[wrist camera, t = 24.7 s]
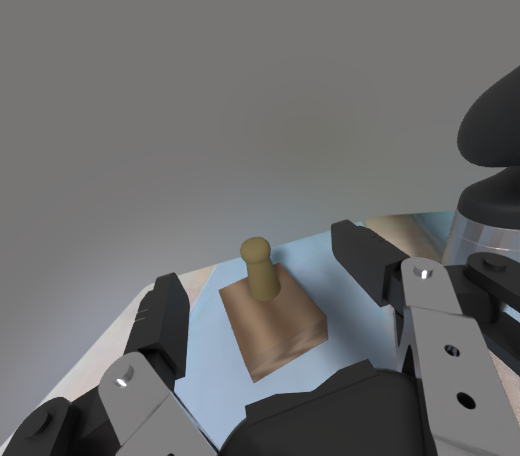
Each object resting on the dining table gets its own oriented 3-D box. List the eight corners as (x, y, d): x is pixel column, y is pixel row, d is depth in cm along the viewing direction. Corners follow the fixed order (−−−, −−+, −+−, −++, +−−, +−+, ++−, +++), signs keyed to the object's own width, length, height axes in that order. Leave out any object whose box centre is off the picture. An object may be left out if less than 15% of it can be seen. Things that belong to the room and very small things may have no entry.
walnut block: (283, 282, 50) (279, 262, 47) (327, 339, 37) (326, 316, 34) (226, 309, 47) (218, 290, 44) (253, 383, 33) (244, 362, 30)
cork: (249, 280, 44) (236, 236, 39) (278, 274, 44) (269, 229, 38) (250, 303, 39) (234, 256, 34) (283, 298, 39) (272, 249, 33)
